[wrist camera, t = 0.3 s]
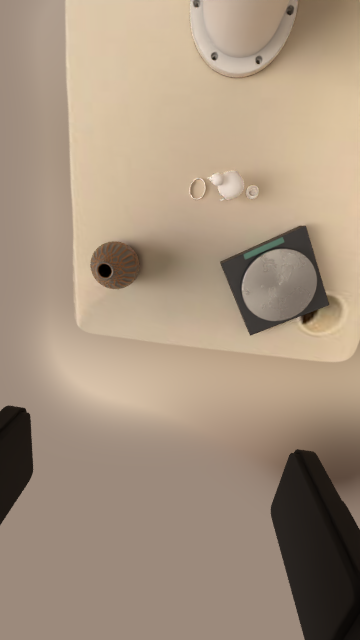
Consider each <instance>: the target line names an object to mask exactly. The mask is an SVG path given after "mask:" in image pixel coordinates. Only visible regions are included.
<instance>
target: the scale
mask: <svg viewBox="0 0 360 640" xmlns="http://www.w3.org/2000/svg"><path fill="white" fill-rule="evenodd" d="M280 248H284V249H291V250H295V251H297V252H300V253H302V254H303V255H304V256H306V257H307V258H308V259H309V260H310V262H311V263H312V265H313V266H314V269H315V271H316V276H317V286H316V291H315V294H314V296H313V298H312V300H311V302H310V303H309V304H308V306H307V307H306V308H305V309H304V310H303V311H301V312H300V313H299V314H297V315H296V316H294V317H292V318H289V319H286V320H281V321H269V320H265V319H262V318H260V317H258V316H256V315H254V314H253V313H252V312H251V311H250V310H249V309H248V307H247V306H246V304H245V302H244V300H243V297H242V293H241V283H242V278H243V275H244V273H245V271H246V269H247V267H248V266H249V265H250V263H251V262H252V261H253V260H254V259H255V258H257V257H258V256H259V255H261V254H263V253H265V252H267V251H270V250H273V249H280ZM220 263H221V266H222V268H223V270H224V273H225V275H226V278H227V280H228V283H229V285H230V288H231V290H232V293H233V295H234V297H235V300H236V302H237V305H238V307H239V310H240V312H241V315H242V317H243V320H244V322H245V324H246V327H247V329H248V332H249V334H250V335H253V334H255V333H258V332H261V331H263V330H266V329H268V328H271V327H273V326H276V325H279V324H281V323H284V322H286V321H289V320H292V319H294V318H297V317H299V316H302V315H304V314H307V313H310V312H312V311H315V310H317V309H320V308H323V307H325V306H328V305H329V303H328V299H327V296H326V293H325V289H324V286H323V283H322V279H321V276H320V272H319V269H318V266H317V262H316V259H315V255H314V252H313V249H312V245H311V242H310V239H309V235H308V232H307V228H306V226H299V227H297V228H294V229H292V230H290V231H288V232H286V233H283V234H281V235H279V236H277V237H274V238H272V239H270V240H268V241H266V242H263V243H261V244H259V245H257V246H255V247H252V248H250V249H248V250H246V251H243V252H241V253H239V254H237V255H235V256H232V257H230V258H228V259H226V260H223V261H221V262H220Z"/></svg>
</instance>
